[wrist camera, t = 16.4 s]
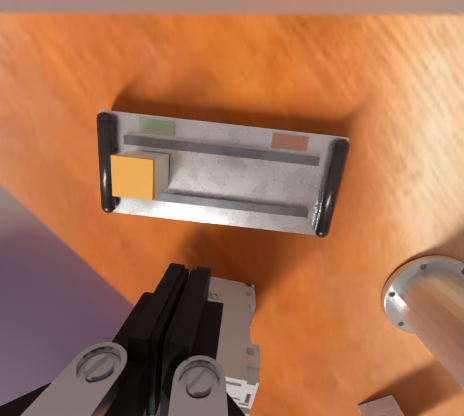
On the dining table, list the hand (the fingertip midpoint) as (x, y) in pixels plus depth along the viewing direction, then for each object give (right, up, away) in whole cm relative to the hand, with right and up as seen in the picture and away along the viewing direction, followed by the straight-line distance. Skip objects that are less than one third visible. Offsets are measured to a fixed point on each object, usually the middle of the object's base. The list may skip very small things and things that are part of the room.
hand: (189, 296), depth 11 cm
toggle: (-8, +8, +19) cm, 22 cm away
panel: (0, +8, +22) cm, 23 cm away
